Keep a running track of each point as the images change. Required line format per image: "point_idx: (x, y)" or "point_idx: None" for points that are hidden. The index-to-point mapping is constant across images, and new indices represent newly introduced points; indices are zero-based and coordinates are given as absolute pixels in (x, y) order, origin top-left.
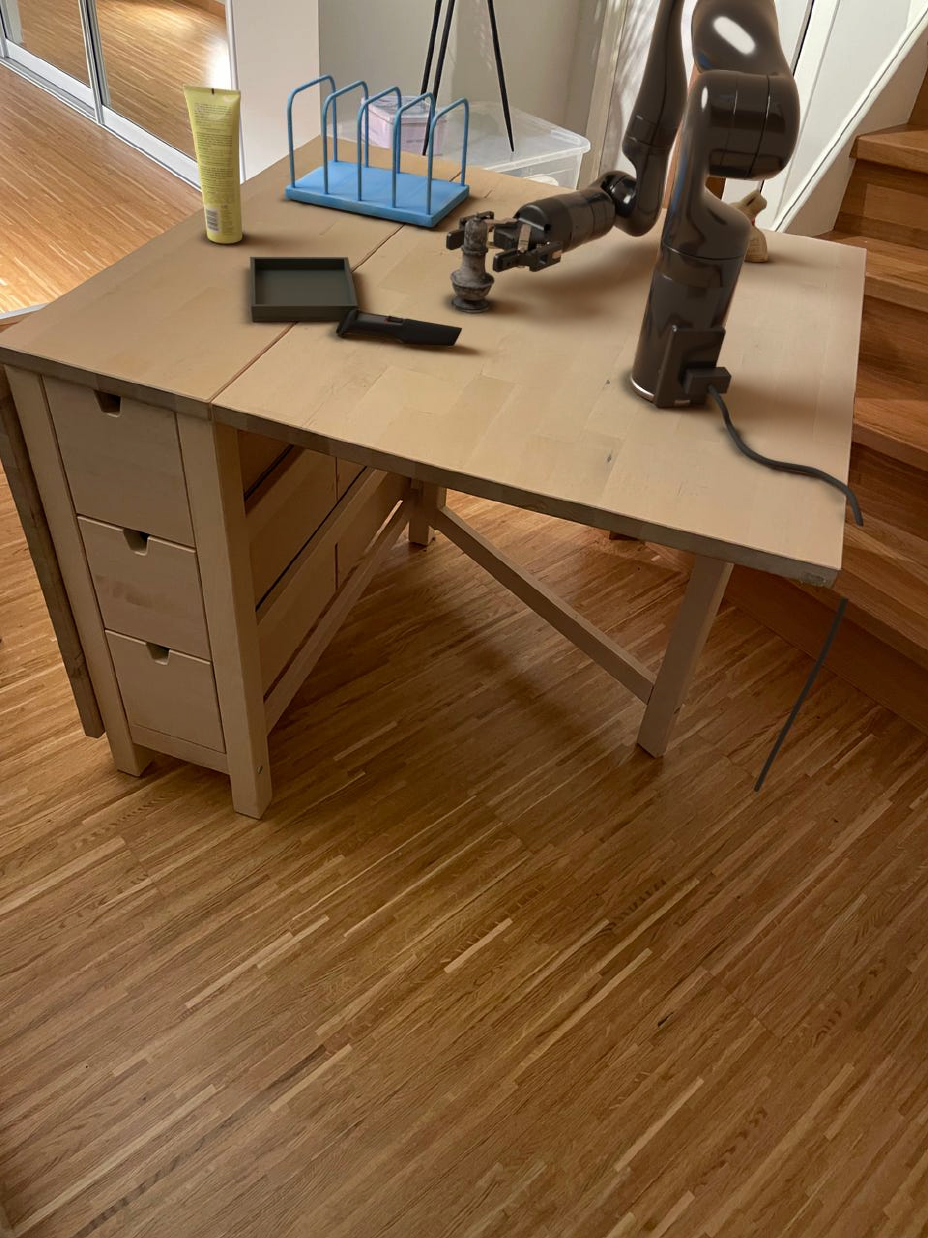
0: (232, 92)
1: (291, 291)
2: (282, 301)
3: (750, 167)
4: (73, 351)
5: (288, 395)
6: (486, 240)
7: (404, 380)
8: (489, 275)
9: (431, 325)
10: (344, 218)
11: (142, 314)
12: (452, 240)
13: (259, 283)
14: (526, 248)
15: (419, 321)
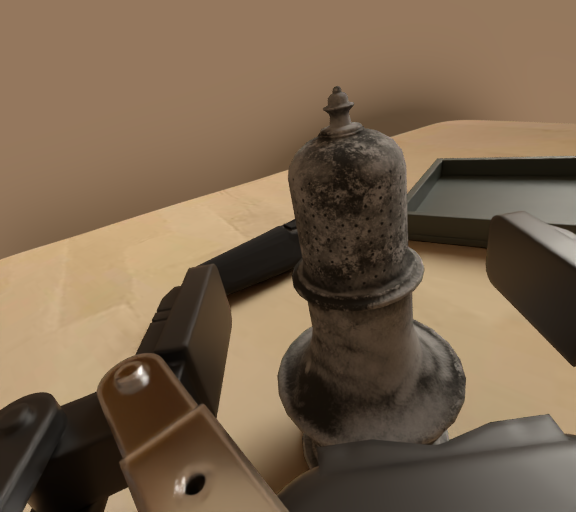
0: None
1: (523, 195)
2: (482, 188)
3: None
4: (420, 132)
5: (268, 187)
6: (309, 248)
7: (208, 241)
8: (346, 429)
9: (238, 246)
10: None
11: (484, 142)
12: (496, 246)
13: (563, 178)
14: (102, 397)
15: (260, 236)
